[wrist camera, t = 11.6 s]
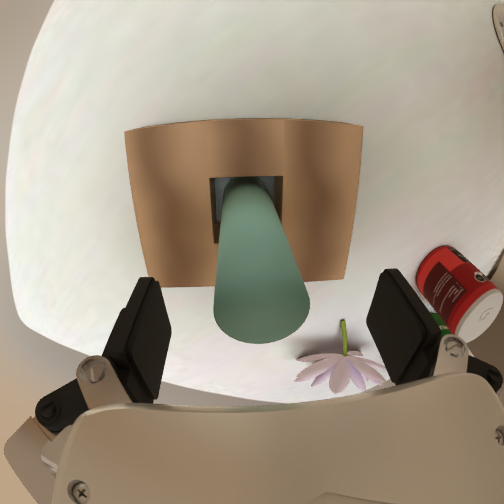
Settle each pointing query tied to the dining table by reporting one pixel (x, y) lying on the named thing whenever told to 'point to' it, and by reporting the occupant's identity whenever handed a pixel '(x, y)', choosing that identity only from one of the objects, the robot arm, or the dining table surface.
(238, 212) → the peg
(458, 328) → the canned food
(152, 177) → the socket block
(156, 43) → the dining table surface
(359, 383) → the water lily
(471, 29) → the dining table surface
